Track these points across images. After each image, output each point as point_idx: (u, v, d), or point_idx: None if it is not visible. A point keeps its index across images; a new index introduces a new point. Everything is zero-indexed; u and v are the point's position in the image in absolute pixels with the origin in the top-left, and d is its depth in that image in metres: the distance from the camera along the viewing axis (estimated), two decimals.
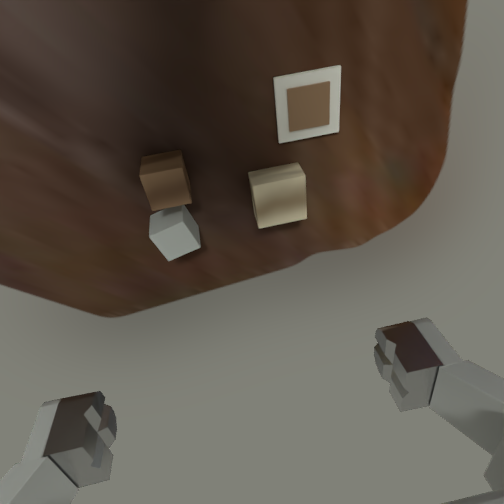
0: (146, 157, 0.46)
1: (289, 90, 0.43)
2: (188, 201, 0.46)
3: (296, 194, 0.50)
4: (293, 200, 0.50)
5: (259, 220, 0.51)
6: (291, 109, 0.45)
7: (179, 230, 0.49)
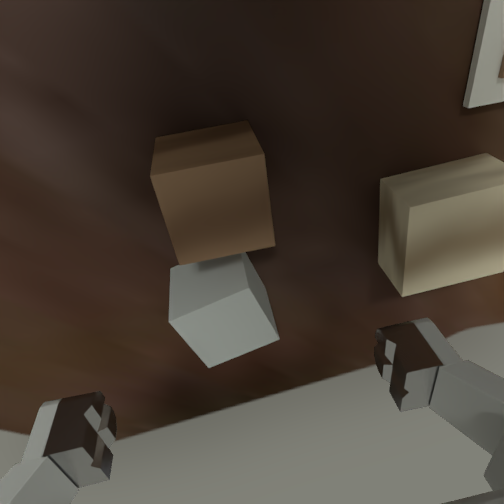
0: (167, 137, 0.19)
1: None
2: (268, 242, 0.19)
3: (498, 222, 0.22)
4: (487, 234, 0.23)
5: (407, 280, 0.24)
6: None
7: (239, 307, 0.21)
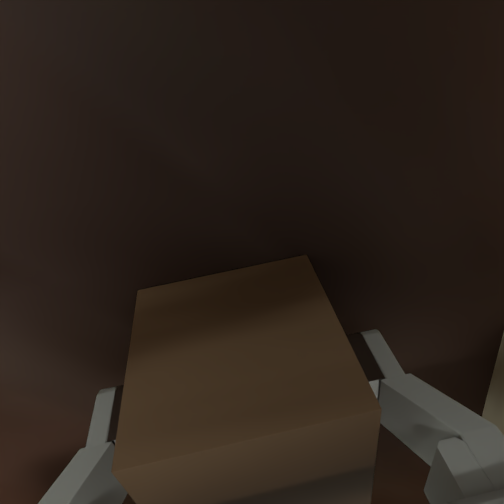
0: (159, 294, 0.10)
1: None
2: None
3: None
4: None
5: None
6: None
7: None
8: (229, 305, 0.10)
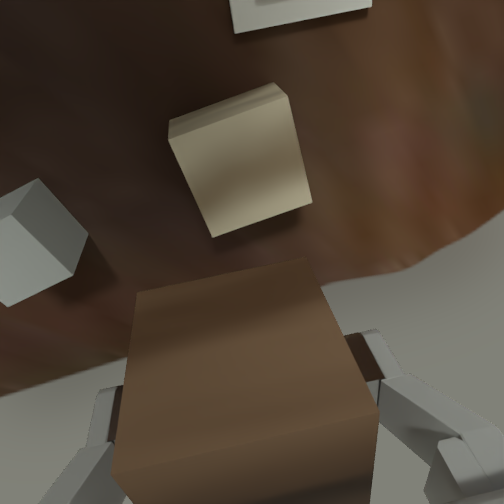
0: (159, 297, 0.10)
1: None
2: None
3: (277, 148, 0.22)
4: (272, 162, 0.22)
5: (208, 219, 0.24)
6: None
7: (10, 237, 0.21)
8: (228, 307, 0.10)
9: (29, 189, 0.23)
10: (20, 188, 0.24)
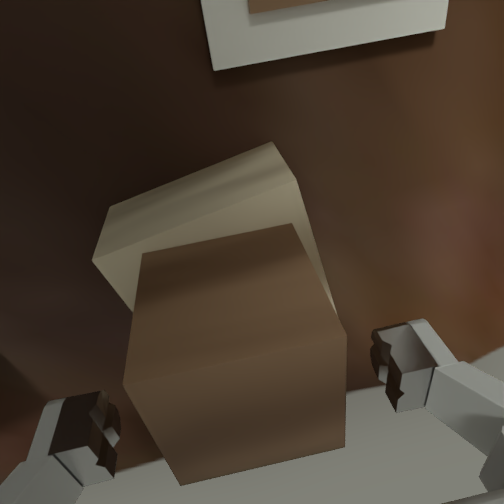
0: (161, 257, 0.12)
1: None
2: (333, 444, 0.11)
3: None
4: None
5: None
6: None
7: None
8: (222, 263, 0.11)
9: None
10: None
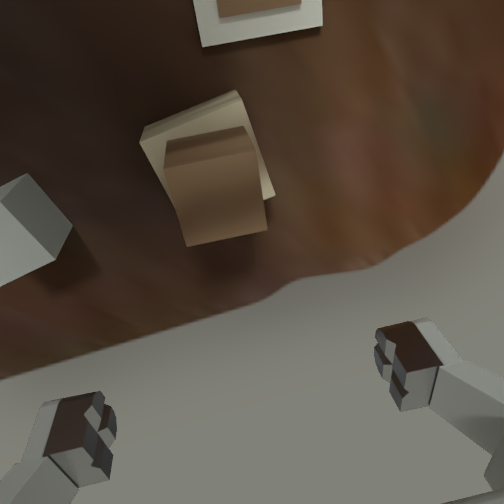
0: (176, 140, 0.23)
1: None
2: (261, 226, 0.22)
3: None
4: None
5: None
6: None
7: None
8: (207, 139, 0.22)
9: (18, 182, 0.26)
10: (11, 182, 0.27)
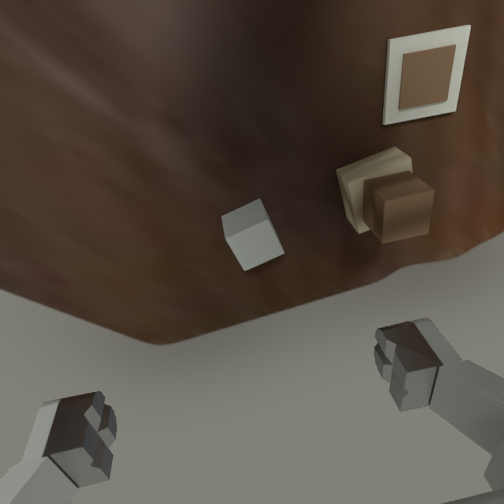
0: (371, 180, 0.39)
1: (407, 55, 0.36)
2: (425, 231, 0.38)
3: None
4: None
5: (358, 223, 0.42)
6: (406, 80, 0.37)
7: (263, 231, 0.39)
8: (392, 180, 0.38)
9: (262, 205, 0.41)
10: (250, 204, 0.43)
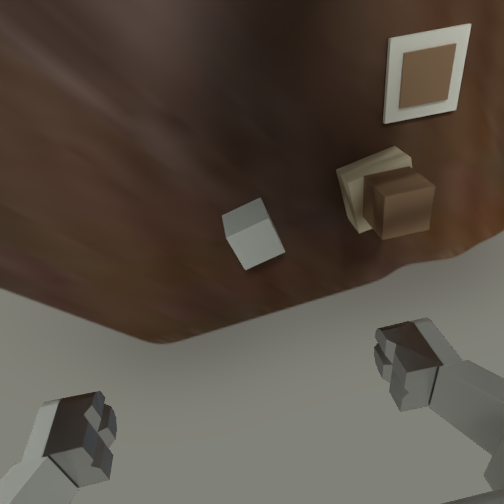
0: (371, 176, 0.39)
1: (407, 54, 0.36)
2: (426, 227, 0.38)
3: None
4: None
5: (359, 223, 0.42)
6: (406, 79, 0.37)
7: (263, 229, 0.39)
8: (393, 176, 0.38)
9: (262, 204, 0.41)
10: (250, 203, 0.43)
